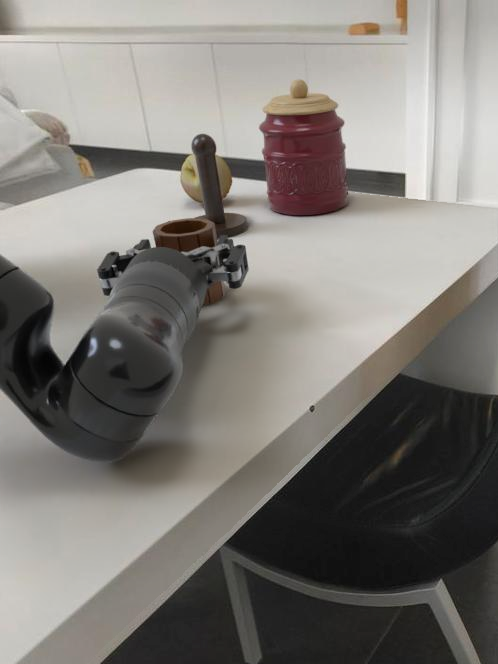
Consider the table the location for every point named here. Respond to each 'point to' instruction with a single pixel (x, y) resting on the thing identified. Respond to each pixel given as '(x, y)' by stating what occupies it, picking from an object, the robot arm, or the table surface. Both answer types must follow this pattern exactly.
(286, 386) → the table surface
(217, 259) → the wooden slatted cup
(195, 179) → the fruit
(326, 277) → the table surface
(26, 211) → the table surface
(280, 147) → the kitchen canister
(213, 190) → the round-topped peg stand
